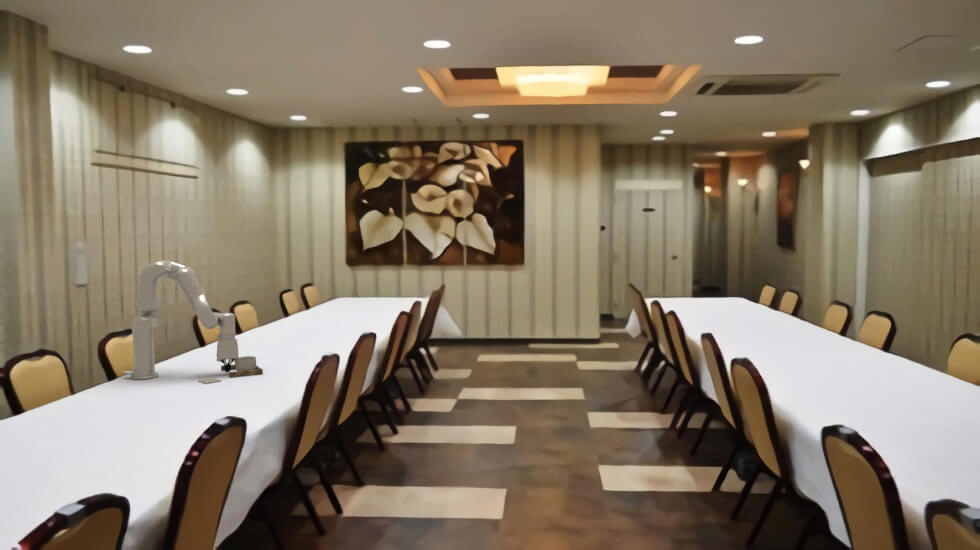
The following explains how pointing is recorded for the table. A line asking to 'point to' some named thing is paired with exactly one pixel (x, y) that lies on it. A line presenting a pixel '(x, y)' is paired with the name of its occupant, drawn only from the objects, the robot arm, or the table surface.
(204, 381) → the coaster
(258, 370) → the bay
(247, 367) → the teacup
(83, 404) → the table surface
